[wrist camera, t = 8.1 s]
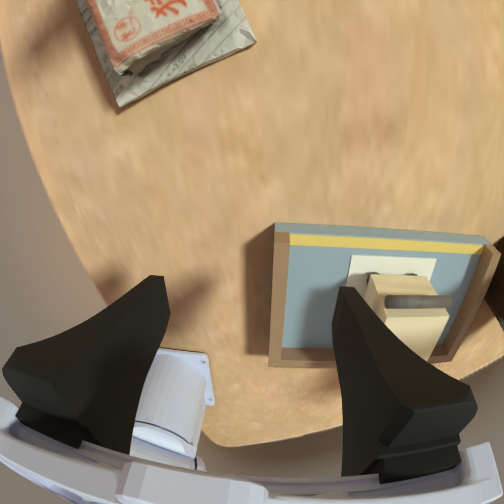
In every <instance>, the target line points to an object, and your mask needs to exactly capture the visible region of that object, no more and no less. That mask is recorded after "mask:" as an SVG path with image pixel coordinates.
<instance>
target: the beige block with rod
mask: <svg viewBox="0 0 504 504" xmlns="http://www.w3.org/2000/svg"><path fill="white" fill-rule="evenodd" d="M366 282H367V285H368V287H367V290H366V294H365V298H364V300H365V301H366V303H367V304H368V305H369V306H370V308H371V309H372V310H373V311H374V312H375V314H376V315H377V316H378V317H379V318H380V319H381V321H382V322H383V323H384V324H385V325H386V326H387V327H388V328H389V329H390V330H391V331H392V332H393V333H394V334H395V335H396V336H397V337H398V338H399V339H400V340H401V341H402V342H403V343H404V344H405V345H407V346H408V347H409V348H410V349H411V350H412V351H414V352H415V353H416V354H417V355H419V356H420V357H421V358H423V359H424V360H425V361H427V360H428V359H429V357H430V355H431V353H432V351H433V349H434V347H435V345H436V343H437V341H438V339H439V337H440V335H441V333H442V331H443V329H444V327H445V325H446V323H447V321H448V319H449V314H448V312H447V311H446V309H445V308H450V307H451V305H452V298H451V296H450V295H437V293H436V292H435V290H434V288H433V286H432V285H431V283H430V282H429V280H428V278H427V277H426V276H418V275H417V274H414V273H412V274H409V275H380V274H379V273H377V272H372V273H370V274H369V275H368V276H367V279H366Z"/></svg>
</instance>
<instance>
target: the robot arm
mask: <svg viewBox="0 0 504 504" xmlns="http://www.w3.org/2000/svg"><path fill="white" fill-rule="evenodd" d="M170 314H171V313H170V308H169V303H168V298H167V293H166V287H165V281H164V276H155V275H150V276H148V277H147V278H146V279H144V280H143V281H141V282H140V283H139V284H138V285H136V286H135V287H134V288H132V289H131V290H130V291H128V292H127V293H126V294H125V295H123V296H122V297H121V298H119V299H118V300H117V301H115V302H114V303H112V304H111V305H109V306H108V307H107V308H105V309H104V310H102V311H101V312H99V313H98V314H96V315H95V316H93V317H91V318H90V319H88V320H86V321H85V322H83V323H81V324H79V325H77V326H75V327H73V328H71V329H69V330H67V331H65V332H62V333H60V334H58V335H55V336H53V337H50V338H48V339H45V340H42V341H39V342H35V343H32V344H28V345H25V346H21V347H17V348H16V349H15V351H14V352H13V353H12V355H11V356H10V358H9V359H8V361H7V362H6V364H5V365H4V367H3V368H2V372H3V376H4V378H5V379H6V381H7V383H8V384H9V386H10V387H11V388H12V390H13V391H14V392H15V393H16V395H17V396H18V397H19V399H20V400H21V401H22V402H23V403H22V404H21V406H20V408H19V407H18V406H17V405H16V404H14V403H13V402H11V401H8V400H7V399H5V398H3V397H1V396H0V461H1V462H3V463H4V464H5V465H6V466H8V467H10V468H11V469H12V470H14V471H16V472H18V473H19V474H20V475H22V476H24V477H25V478H27V479H29V480H30V481H32V482H34V483H36V484H37V485H39V486H41V487H43V488H44V489H46V490H48V491H50V492H52V493H54V494H55V495H58V496H59V497H61V498H63V499H65V500H68V501H69V502H71V503H74V504H489V503H491V502H492V501H494V500H496V499H497V498H499V497H500V496H502V495H503V491H502V487H501V483H500V478H499V475H498V471H497V467H496V463H495V460H494V456H493V453H492V449H491V446H490V443H489V442H484V443H481V444H477V445H474V446H470V447H468V448H465V449H463V450H461V451H458V447H457V445H458V444H459V443H460V441H461V440H460V437H459V433H460V432H461V431H462V430H463V429H464V428H465V427H466V425H467V424H468V423H469V422H470V421H471V420H472V419H473V417H474V416H475V414H476V412H477V409H478V407H477V404H476V401H475V398H474V396H473V393H472V391H471V388H470V386H469V385H467V384H465V383H463V382H461V381H459V380H457V379H455V378H453V377H451V376H449V375H447V374H445V373H444V372H442V371H440V370H439V369H437V368H436V367H434V366H433V365H431V364H430V363H428V362H427V361H425V360H424V359H423V358H421V357H420V356H419V355H417V354H416V353H415V352H414V351H412V350H411V349H410V348H409V347H408V346H407V345H405V344H404V343H403V342H402V341H401V340H400V339H399V338H398V337H397V336H396V335H395V334H394V333H393V332H392V331H391V330H390V329H389V328H388V327H387V326H386V325H385V324H384V323H383V322H382V321H381V319H380V318H379V317H378V316H377V315H376V314H375V312H374V311H373V310H372V309H371V308H370V306H369V305H368V304H367V303H366V301H365V300H364V299H363V297H362V296H361V295H360V294H359V292H358V291H357V290H356V289H355V287H345V286H339V291H338V296H337V301H336V306H335V310H334V315H333V319H332V324H331V325H332V342H333V349H334V355H335V360H336V366H337V371H338V376H339V382H340V388H341V395H342V413H343V455H342V472H341V477H332V478H267V477H252V476H239V475H229V474H221V473H214V472H207V471H206V468H205V465H204V463H203V461H202V459H201V458H200V457H198V456H195V455H196V451H197V447H196V446H197V444H198V440H199V436H200V431H201V427H202V423H203V418H204V413H205V409H206V405H210V406H213V405H215V397H214V391H213V385H212V379H211V373H210V367H209V360H208V356H207V355H206V354H205V353H197V352H188V351H180V350H172V349H164V348H159V346H160V344H161V342H162V339H163V337H164V335H165V332H166V328H167V325H168V321H169V317H170Z"/></svg>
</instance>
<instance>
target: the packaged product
mask: <svg viewBox="0 0 504 504" xmlns="http://www.w3.org/2000/svg"><path fill="white" fill-rule="evenodd" d="M76 3H77V5H78V7H79V9H80V13H81V16H82V19H83V21H84V23H85V26H86V28H87V31H88V34H89V36H90V38H91V40H92V42H93V46H94V49H95V52H96V54H97V57H98V59H99V62H100V64H101V66H102V68H103V71H104V74H105V76H106V78H107V80H108V83H109V85H110V87H111V89H112V91H113V93H114V96H115V98H116V101H117V104H118V106H119V107H122V106H124V105H126V104H128V103H130V102H133V101H135V100H137V99H139V98H142V97H143V96H145V95H147V94H148V93H150V92H152V91H154V90H155V89H157V88H159V87H160V86H162V85H164V84H166V83H167V82H169V81H171V80H174V79H176V78H178V77H180V76H183V75H185V74H187V73H190V72H192V71H194V70H196V69H199V68H201V67H204V66H206V65H208V64H211V63H213V62H216V61H218V60H221V59H223V58H226V57H228V56H230V55H232V54H234V53H236V52H238V51H240V50H242V49H244V48H246V47H248V46H250V45H252V44H255V43H256V42H257V41H256V39H255V36H254V34H253V32H252V30H251V27H250V25H249V23H248V21H247V19H246V16H245V14H244V12H243V10H242V8H241V5H240V3H239V1H238V0H76Z"/></svg>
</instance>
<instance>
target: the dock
mask: <svg viewBox="0 0 504 504" xmlns="http://www.w3.org/2000/svg"><path fill="white" fill-rule="evenodd" d="M500 256H501V253H500V252H499V251H498V250H497V249H496V248H495V247H494V246H493V245H492V244H491V243H490V242H489V241H488V240H487V239H486V238H485V237H484V236H474V235H463V234H452V233H440V232H427V231H414V230H400V229H386V228H370V227H354V226H336V225H317V224H296V223H275V233H274V255H273V279H272V302H271V322H270V342H269V360H268V367H282V368H337V366H336V360H335V355H334V349H333V342H332V325H331V324H332V319H333V315H334V310H335V306H336V301H337V296H338V291H339V286H345V287H355V289H356V290H357V291H358V292H359V294H360V295H361V296H362V297H363V299H364V298H365V294H366V290H367V287H368V285H367V282H366V279H367V276H368V275H369V274H370V273H372V272H377V273H379V274H380V275H409V274H412V273H414V274H417V275H418V276H426V277H427V278H428V280H429V282H430V283H431V285H432V286H433V288H434V290H435V292H436V293H437V295H450V296H451V298H452V305H451V307H450V308H445V309H446V311H447V312H448V314H449V319H448V321H447V323H446V325H445V327H444V329H443V331H442V333H441V335H440V337H439V339H438V341H437V343H436V345H435V347H434V349H433V351H432V353H431V355H430V357H429V359H428V360H427V362H428V363H440V362H449V361H452V359H453V357H454V356H455V354H456V352H457V350H458V349H459V347H460V345H461V343H462V341H463V339H464V338H465V336H466V334H467V332H468V330H469V328H470V326H471V324H472V322H473V320H474V318H475V316H476V314H477V312H478V310H479V307H480V305H481V303H482V301H483V299H484V296H485V294H486V292H487V290H488V287H489V285H490V282H491V280H492V277H493V275H494V272H495V270H496V267H497V265H498V262H499V259H500Z"/></svg>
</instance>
